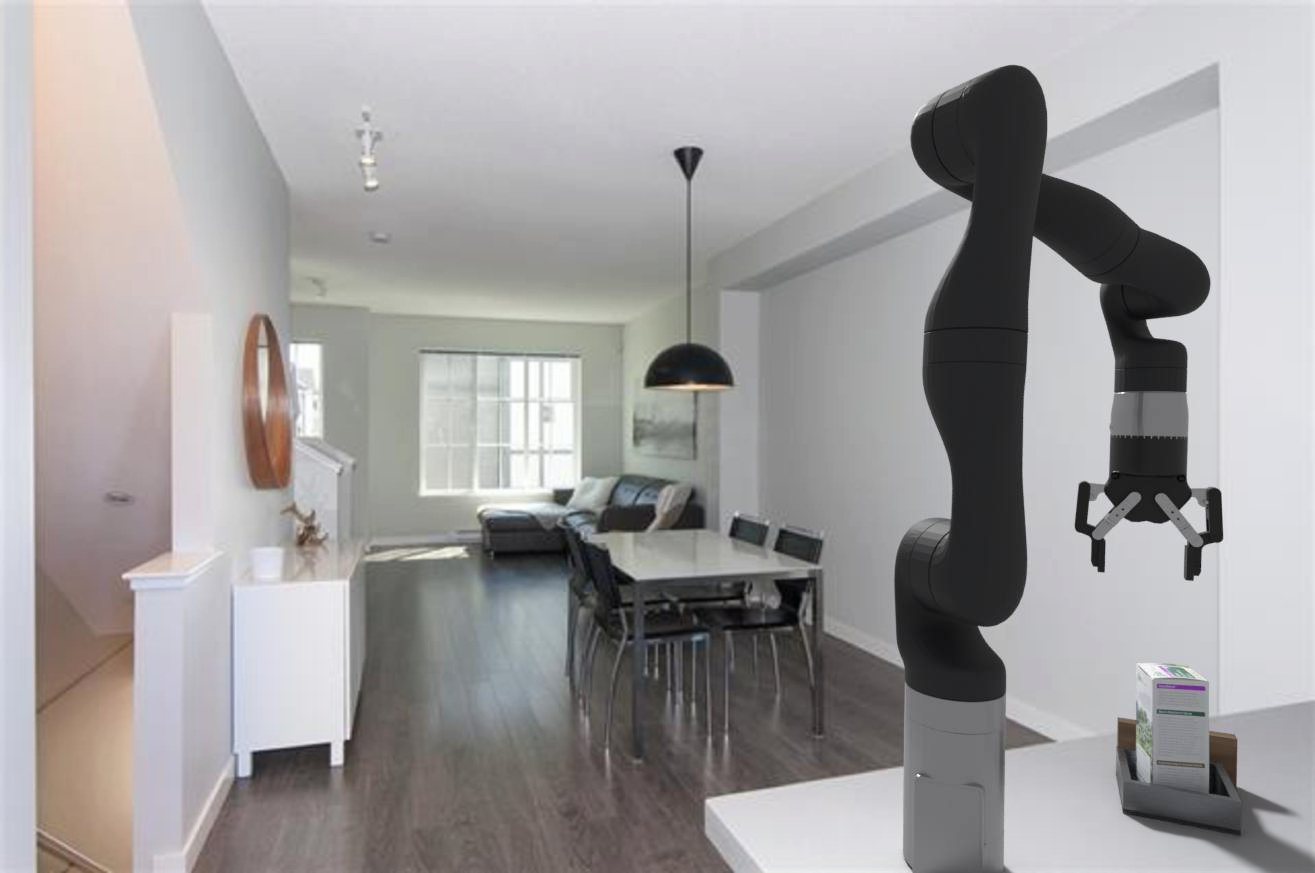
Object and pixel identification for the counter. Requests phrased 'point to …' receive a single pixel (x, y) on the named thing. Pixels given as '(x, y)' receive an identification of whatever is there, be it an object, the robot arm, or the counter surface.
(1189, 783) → the syrup box
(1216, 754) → the door edge slab
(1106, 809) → the counter surface
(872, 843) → the counter surface
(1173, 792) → the keeper pocket
